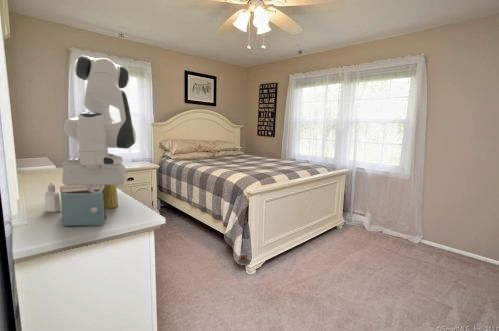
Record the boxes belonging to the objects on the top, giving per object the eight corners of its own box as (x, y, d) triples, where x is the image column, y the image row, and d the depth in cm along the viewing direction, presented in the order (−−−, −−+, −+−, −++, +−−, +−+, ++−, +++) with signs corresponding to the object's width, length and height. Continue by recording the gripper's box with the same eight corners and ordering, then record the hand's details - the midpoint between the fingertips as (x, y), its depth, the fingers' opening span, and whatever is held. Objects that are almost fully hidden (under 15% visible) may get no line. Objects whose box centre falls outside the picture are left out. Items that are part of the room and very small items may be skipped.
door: (64, 224, 92) (62, 193, 90) (104, 223, 94) (102, 193, 92) (61, 226, 90) (59, 195, 88) (102, 225, 92) (100, 194, 90)
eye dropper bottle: (47, 213, 104) (45, 184, 103) (45, 210, 108) (43, 181, 107) (61, 211, 108) (58, 182, 106) (58, 208, 111) (56, 180, 110)
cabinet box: (62, 216, 102) (60, 186, 100) (100, 210, 110) (98, 182, 108) (64, 225, 93) (62, 192, 91) (106, 218, 101) (104, 188, 99)
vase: (111, 209, 112) (109, 176, 110) (99, 208, 113) (97, 175, 111) (121, 205, 118) (119, 173, 116) (109, 204, 119) (107, 173, 117)
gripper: (56, 159, 88) (59, 199, 90) (121, 159, 91) (123, 198, 93) (66, 157, 94) (69, 195, 96) (127, 157, 97) (128, 194, 99)
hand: (96, 196), depth 94 cm, fingers closed
